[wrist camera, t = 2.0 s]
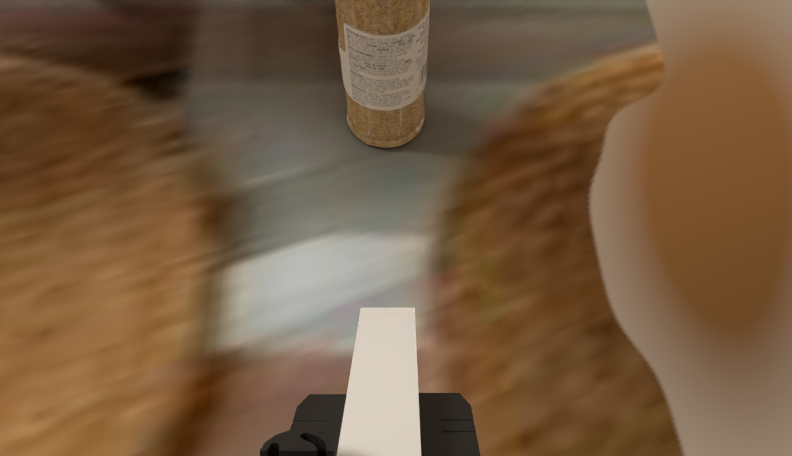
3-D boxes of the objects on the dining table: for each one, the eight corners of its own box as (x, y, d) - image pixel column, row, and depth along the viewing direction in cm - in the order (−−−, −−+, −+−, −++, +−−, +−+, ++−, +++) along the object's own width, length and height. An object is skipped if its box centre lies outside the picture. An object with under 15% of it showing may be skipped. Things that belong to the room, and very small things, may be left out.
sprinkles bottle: (363, 81, 37) (345, -149, 25) (436, 101, 36) (453, -127, 24) (334, 139, 35) (298, -81, 23) (410, 162, 34) (415, -54, 22)
